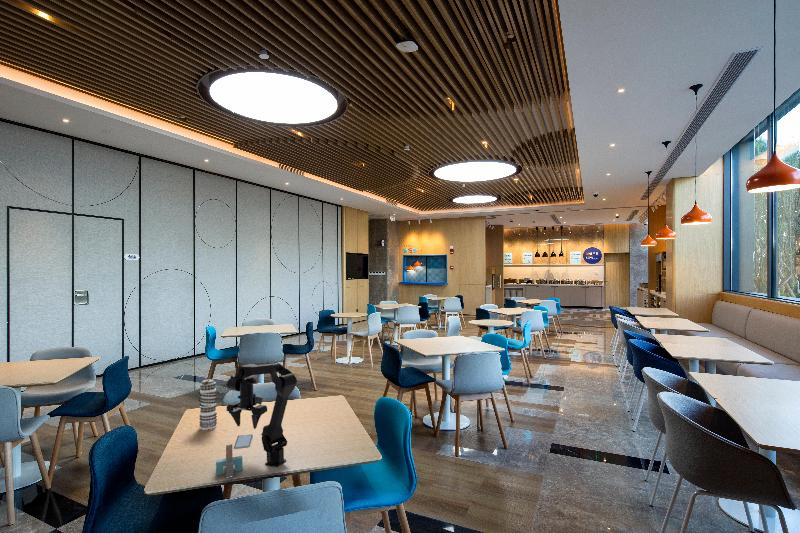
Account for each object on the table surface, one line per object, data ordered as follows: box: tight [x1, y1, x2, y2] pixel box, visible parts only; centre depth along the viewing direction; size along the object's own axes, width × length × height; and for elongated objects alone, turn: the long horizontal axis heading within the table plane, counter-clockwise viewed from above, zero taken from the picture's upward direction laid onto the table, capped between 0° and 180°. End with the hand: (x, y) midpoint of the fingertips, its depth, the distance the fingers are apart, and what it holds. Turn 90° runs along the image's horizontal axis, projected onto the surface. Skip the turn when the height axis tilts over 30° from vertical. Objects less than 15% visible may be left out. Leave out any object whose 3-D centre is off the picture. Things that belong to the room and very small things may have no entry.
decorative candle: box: [198, 378, 218, 431], centre depth 227 cm, size 9×9×25 cm
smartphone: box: [233, 433, 254, 449], centre depth 206 cm, size 7×1×15 cm
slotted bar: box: [225, 461, 234, 478], centre depth 174 cm, size 12×2×5 cm, turn 23°
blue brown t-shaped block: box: [215, 444, 243, 476], centre depth 174 cm, size 10×2×10 cm, turn 113°
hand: (246, 427), depth 191 cm, fingers open, 9 cm apart
